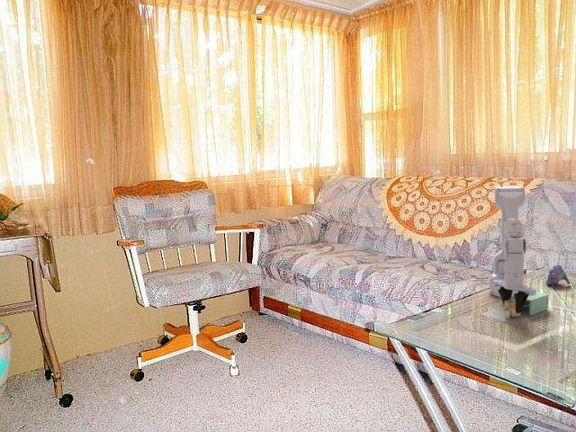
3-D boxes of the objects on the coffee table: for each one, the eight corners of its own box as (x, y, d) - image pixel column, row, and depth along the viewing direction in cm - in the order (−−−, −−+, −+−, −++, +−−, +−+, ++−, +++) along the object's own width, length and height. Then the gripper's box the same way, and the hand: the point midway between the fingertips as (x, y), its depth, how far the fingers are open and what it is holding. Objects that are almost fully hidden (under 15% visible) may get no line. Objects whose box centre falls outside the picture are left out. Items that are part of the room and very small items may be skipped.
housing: (511, 309, 165) (511, 295, 165) (528, 303, 170) (528, 289, 170) (530, 315, 159) (531, 300, 158) (547, 309, 164) (548, 294, 164)
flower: (575, 268, 195) (551, 258, 196) (577, 281, 189) (553, 271, 190) (561, 282, 201) (538, 272, 202) (563, 295, 194) (540, 285, 196)
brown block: (504, 313, 160) (504, 301, 160) (510, 311, 162) (511, 298, 161) (514, 316, 157) (514, 303, 157) (520, 314, 159) (520, 301, 158)
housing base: (480, 317, 164) (480, 307, 163) (517, 304, 175) (517, 294, 174) (515, 328, 153) (515, 317, 152) (552, 314, 164) (552, 303, 163)
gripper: (487, 270, 162) (487, 307, 164) (527, 278, 150) (526, 319, 152) (500, 266, 166) (499, 303, 167) (540, 275, 153) (539, 314, 155)
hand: (513, 310), depth 160 cm, fingers closed on brown block, 4 cm apart
